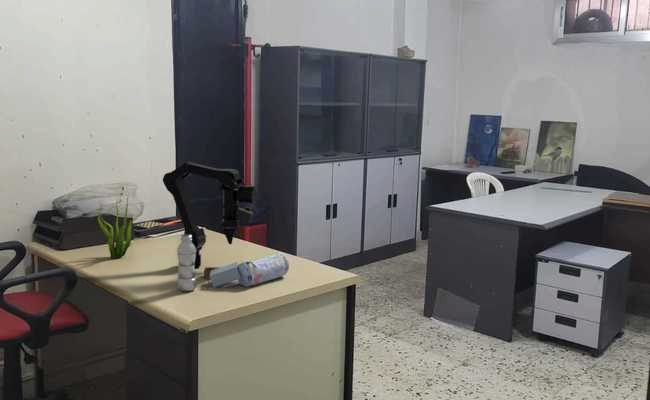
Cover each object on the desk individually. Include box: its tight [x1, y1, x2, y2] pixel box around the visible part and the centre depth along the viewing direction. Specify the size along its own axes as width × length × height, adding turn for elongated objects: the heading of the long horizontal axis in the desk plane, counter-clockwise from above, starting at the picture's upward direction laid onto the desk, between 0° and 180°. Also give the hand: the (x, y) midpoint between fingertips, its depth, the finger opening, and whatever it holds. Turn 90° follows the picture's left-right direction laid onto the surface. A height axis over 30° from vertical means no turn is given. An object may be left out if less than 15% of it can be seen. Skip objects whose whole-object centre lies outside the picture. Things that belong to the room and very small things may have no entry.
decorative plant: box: [97, 193, 143, 259], centre depth 255 cm, size 18×30×15 cm
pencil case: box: [237, 252, 290, 287], centre depth 226 cm, size 21×9×10 cm, turn 139°
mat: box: [206, 280, 242, 289], centre depth 221 cm, size 12×8×1 cm, turn 96°
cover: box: [209, 261, 240, 287], centre depth 220 cm, size 10×7×4 cm
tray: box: [203, 266, 221, 280], centre depth 231 cm, size 16×5×3 cm, turn 96°
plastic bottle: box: [176, 233, 197, 292], centre depth 212 cm, size 6×7×20 cm
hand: (230, 241), depth 238 cm, fingers open, 9 cm apart
